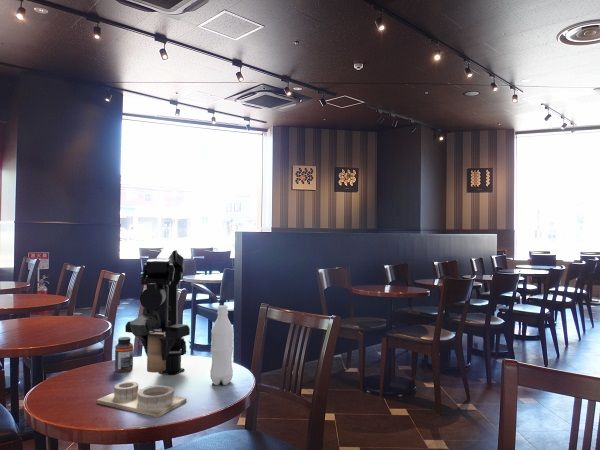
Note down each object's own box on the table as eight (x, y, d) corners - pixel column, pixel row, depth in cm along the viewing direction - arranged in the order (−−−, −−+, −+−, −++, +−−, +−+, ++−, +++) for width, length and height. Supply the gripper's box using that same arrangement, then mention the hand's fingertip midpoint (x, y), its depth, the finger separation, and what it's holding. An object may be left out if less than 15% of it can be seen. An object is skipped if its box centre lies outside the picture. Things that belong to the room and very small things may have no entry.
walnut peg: (155, 366, 130) (156, 331, 130) (169, 368, 128) (170, 333, 128) (143, 371, 125) (143, 335, 126) (157, 373, 123) (157, 337, 124)
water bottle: (227, 387, 142) (229, 308, 142) (206, 385, 143) (208, 307, 144) (235, 380, 149) (237, 304, 149) (215, 378, 150) (216, 303, 151)
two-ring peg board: (128, 389, 138) (128, 376, 139) (186, 401, 130) (186, 387, 130) (96, 403, 128) (97, 389, 128) (157, 417, 119) (158, 402, 119)
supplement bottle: (115, 368, 160) (116, 336, 160) (133, 367, 161) (133, 335, 162) (113, 373, 154) (114, 340, 154) (132, 372, 156) (133, 339, 156)
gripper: (110, 305, 123) (109, 362, 123) (164, 310, 116) (163, 371, 116) (140, 299, 134) (139, 352, 133) (191, 304, 126) (190, 360, 126)
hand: (156, 359), depth 127 cm, fingers closed on walnut peg, 5 cm apart
